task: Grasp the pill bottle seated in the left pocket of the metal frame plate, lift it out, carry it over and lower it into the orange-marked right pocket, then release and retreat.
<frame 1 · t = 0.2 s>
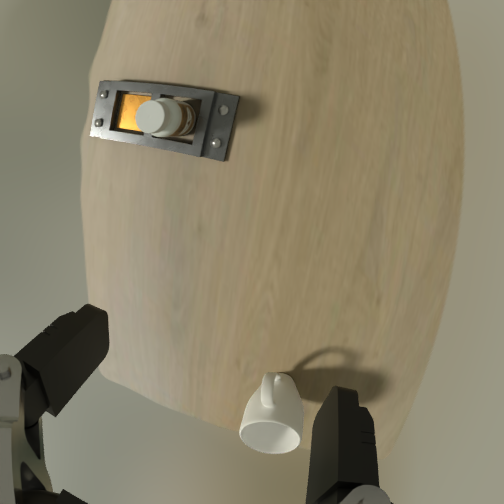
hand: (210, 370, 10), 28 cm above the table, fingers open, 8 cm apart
pill bottle: (180, 119, 35), resting in metal frame plate
metal frame plate: (156, 115, 35), on the table
mug: (279, 373, 45), on the table
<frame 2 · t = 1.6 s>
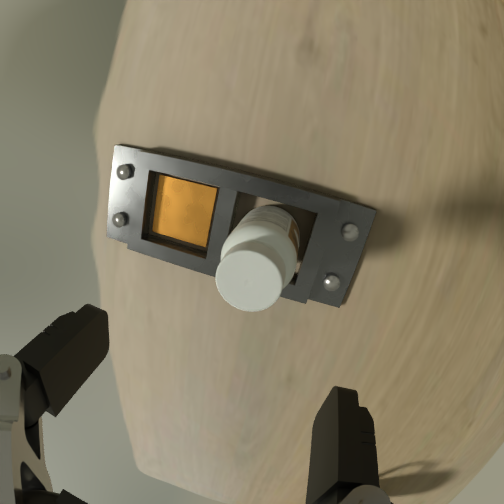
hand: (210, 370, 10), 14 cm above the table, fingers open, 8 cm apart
pill bottle: (270, 233, 23), resting in metal frame plate
metal frame plate: (225, 221, 23), on the table
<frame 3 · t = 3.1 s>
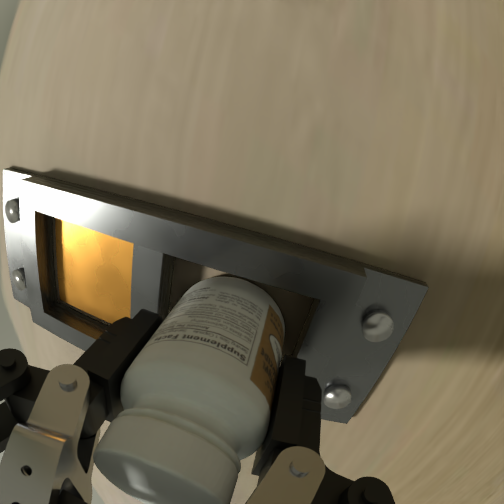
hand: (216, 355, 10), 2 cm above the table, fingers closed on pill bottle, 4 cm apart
pill bottle: (233, 319, 13), resting in metal frame plate, touching gripper
metal frame plate: (156, 297, 13), on the table
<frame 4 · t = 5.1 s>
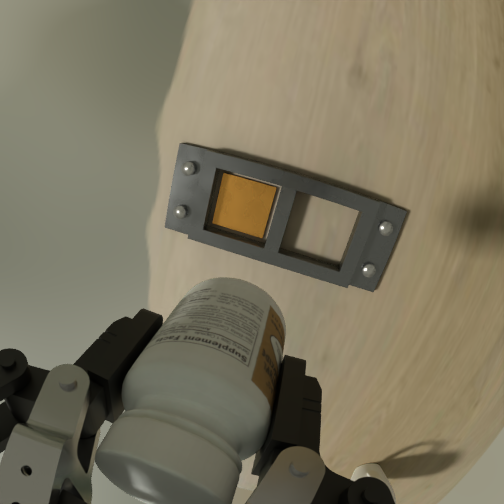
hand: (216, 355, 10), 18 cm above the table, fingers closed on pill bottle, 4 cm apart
pill bottle: (233, 320, 13), point 15 cm above the table, touching gripper
metal frame plate: (281, 216, 26), on the table
mug: (369, 463, 37), on the table
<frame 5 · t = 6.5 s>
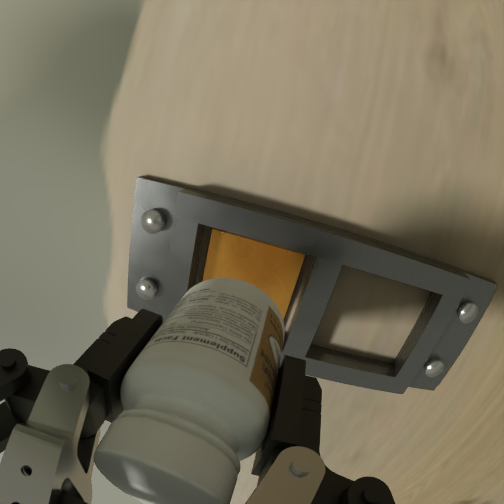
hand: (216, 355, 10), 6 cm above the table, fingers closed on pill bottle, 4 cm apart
pill bottle: (232, 320, 13), point 4 cm above the table, touching gripper
metal frame plate: (311, 299, 16), on the table
when the fingers open (3 cm above the table, at t = 7.3 s): pill bottle stays where it is, resting on metal frame plate.
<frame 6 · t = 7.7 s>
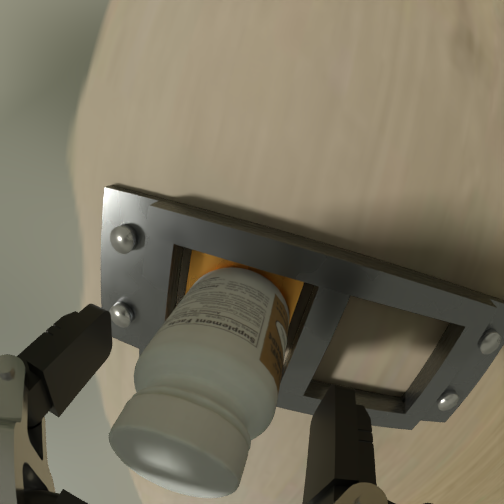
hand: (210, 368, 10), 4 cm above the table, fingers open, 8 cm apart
pill bottle: (239, 309, 13), resting on metal frame plate
metal frame plate: (311, 331, 13), on the table
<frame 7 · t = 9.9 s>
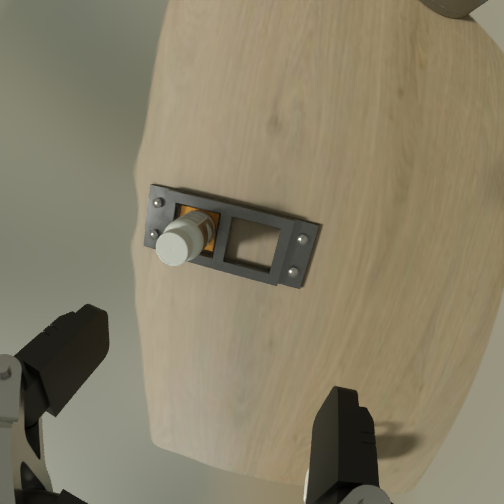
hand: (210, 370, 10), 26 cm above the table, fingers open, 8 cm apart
pill bottle: (198, 227, 36), resting on metal frame plate
metal frame plate: (224, 235, 36), on the table
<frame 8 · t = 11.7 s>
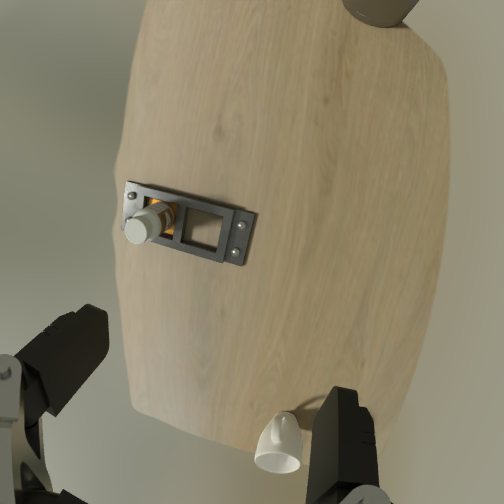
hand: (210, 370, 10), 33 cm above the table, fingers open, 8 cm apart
pill bottle: (162, 215, 45), resting on metal frame plate
metal frame plate: (182, 221, 44), on the table
mug: (284, 411, 55), on the table
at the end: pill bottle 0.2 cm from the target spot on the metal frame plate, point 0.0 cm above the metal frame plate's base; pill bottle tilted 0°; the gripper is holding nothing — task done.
